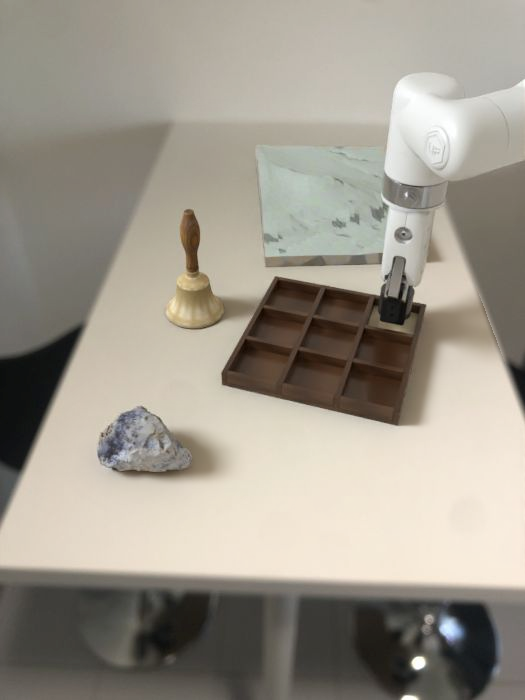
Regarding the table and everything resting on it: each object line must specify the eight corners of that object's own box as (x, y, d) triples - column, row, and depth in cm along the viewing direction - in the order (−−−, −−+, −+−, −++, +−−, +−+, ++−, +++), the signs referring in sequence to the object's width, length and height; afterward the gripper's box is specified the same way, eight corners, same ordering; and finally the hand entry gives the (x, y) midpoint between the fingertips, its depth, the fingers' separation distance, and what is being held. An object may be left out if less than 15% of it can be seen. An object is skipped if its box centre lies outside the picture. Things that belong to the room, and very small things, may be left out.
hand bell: (232, 299, 98) (229, 200, 88) (212, 334, 92) (205, 231, 82) (179, 289, 100) (169, 190, 89) (156, 322, 94) (143, 221, 83)
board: (424, 316, 95) (426, 304, 94) (397, 425, 79) (399, 413, 78) (274, 287, 100) (275, 275, 99) (221, 384, 84) (221, 372, 83)
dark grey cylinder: (413, 305, 92) (417, 283, 90) (408, 324, 89) (411, 302, 87) (381, 299, 93) (384, 278, 91) (375, 318, 90) (378, 296, 88)
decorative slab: (244, 159, 133) (244, 134, 130) (381, 156, 134) (384, 131, 131) (251, 267, 104) (251, 239, 101) (425, 262, 105) (430, 234, 102)
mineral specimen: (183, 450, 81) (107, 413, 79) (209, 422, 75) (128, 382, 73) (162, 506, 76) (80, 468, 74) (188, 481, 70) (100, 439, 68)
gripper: (437, 226, 72) (413, 355, 84) (454, 161, 84) (431, 282, 96) (368, 215, 74) (354, 343, 86) (395, 153, 86) (379, 272, 98)
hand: (395, 309), depth 91 cm, fingers closed on dark grey cylinder, 4 cm apart
